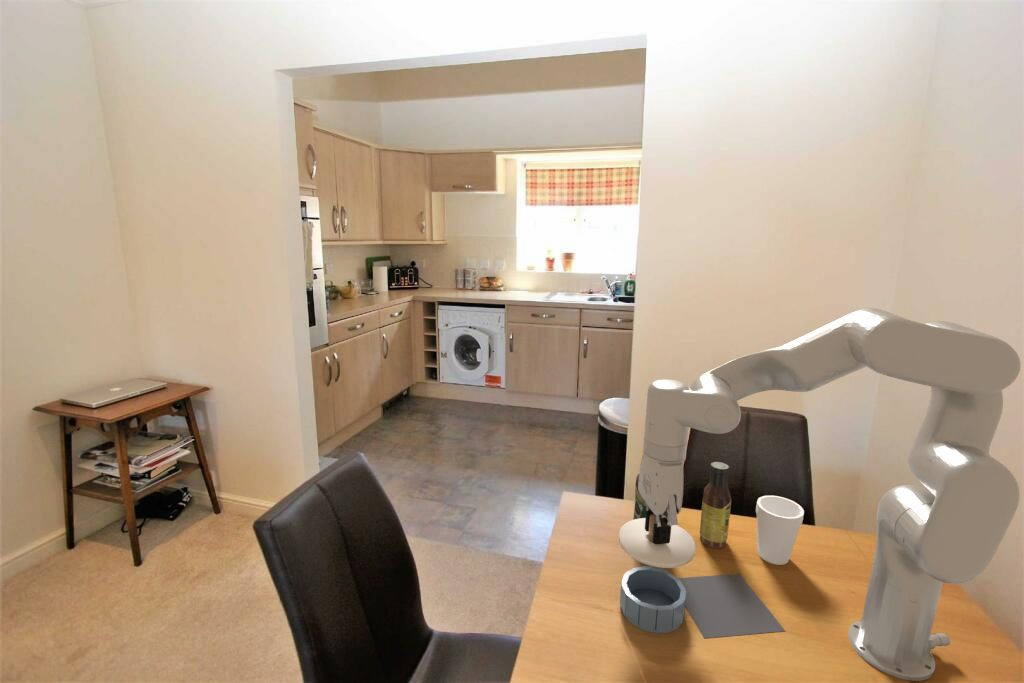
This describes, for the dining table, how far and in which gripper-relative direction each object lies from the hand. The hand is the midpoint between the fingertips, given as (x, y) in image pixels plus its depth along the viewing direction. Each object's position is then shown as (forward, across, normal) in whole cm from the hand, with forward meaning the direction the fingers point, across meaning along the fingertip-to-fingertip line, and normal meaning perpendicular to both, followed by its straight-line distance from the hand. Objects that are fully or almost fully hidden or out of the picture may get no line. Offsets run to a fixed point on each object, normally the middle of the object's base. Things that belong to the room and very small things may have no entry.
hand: (657, 535), depth 97 cm
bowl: (+17, 0, 0) cm, 17 cm away
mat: (+17, 0, +15) cm, 23 cm away
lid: (+2, 0, 0) cm, 2 cm away
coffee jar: (+17, -19, +7) cm, 26 cm away
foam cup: (+17, -13, +34) cm, 40 cm away
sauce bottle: (+17, -20, +23) cm, 35 cm away
